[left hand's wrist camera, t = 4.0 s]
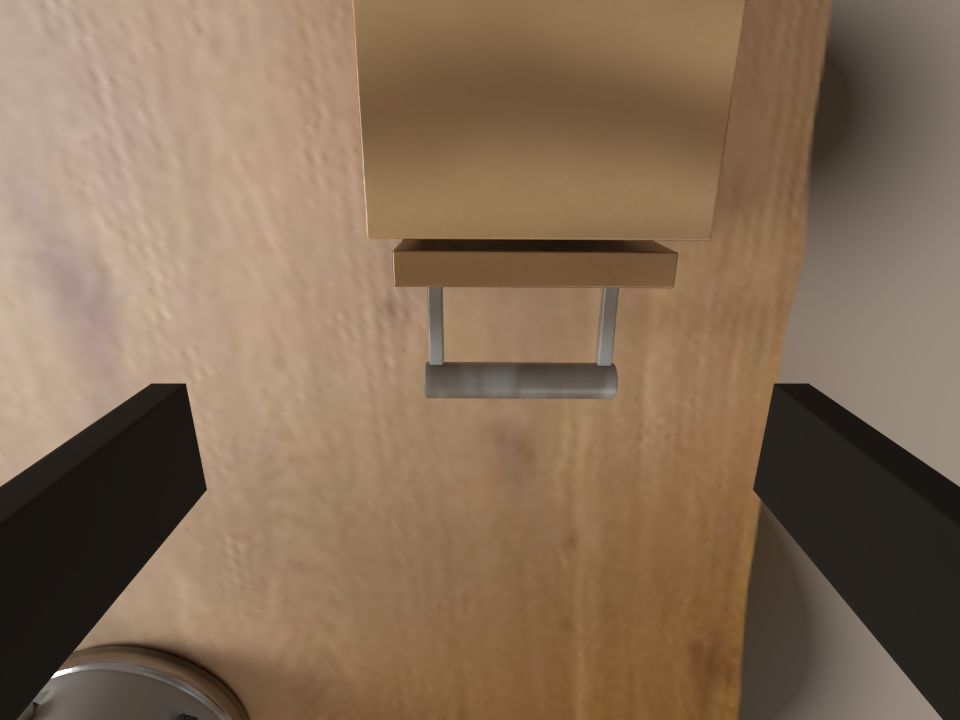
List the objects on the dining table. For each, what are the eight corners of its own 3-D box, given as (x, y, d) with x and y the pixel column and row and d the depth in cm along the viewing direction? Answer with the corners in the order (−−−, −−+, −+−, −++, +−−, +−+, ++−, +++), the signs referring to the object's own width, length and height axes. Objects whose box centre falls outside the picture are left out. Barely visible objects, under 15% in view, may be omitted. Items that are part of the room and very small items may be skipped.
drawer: (604, 367, 28) (653, 448, 20) (422, 366, 28) (401, 447, 20) (654, -183, 21) (763, -393, 13) (405, -185, 21) (360, -397, 13)
